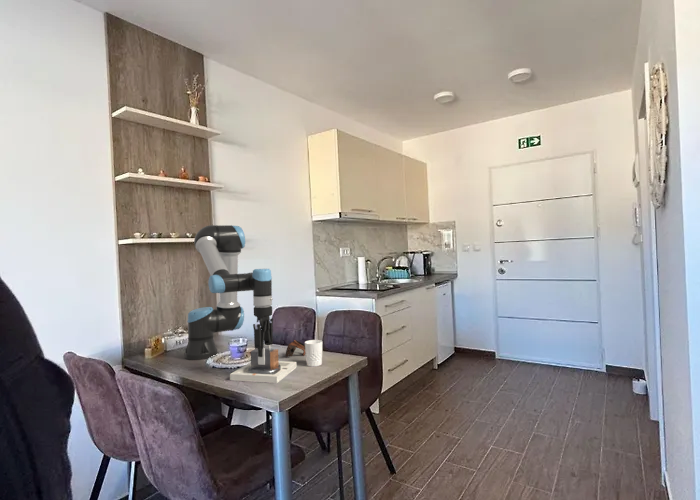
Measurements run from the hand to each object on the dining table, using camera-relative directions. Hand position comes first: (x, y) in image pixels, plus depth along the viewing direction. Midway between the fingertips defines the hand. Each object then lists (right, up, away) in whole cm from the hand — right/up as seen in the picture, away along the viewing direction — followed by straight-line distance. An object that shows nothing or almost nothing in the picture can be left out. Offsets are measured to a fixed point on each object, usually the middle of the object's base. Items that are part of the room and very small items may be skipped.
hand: (264, 362), depth 162 cm
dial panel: (0, -5, 0) cm, 5 cm away
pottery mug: (+9, -5, +27) cm, 29 cm away
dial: (0, -4, 0) cm, 4 cm away
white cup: (+20, -4, +12) cm, 23 cm away
